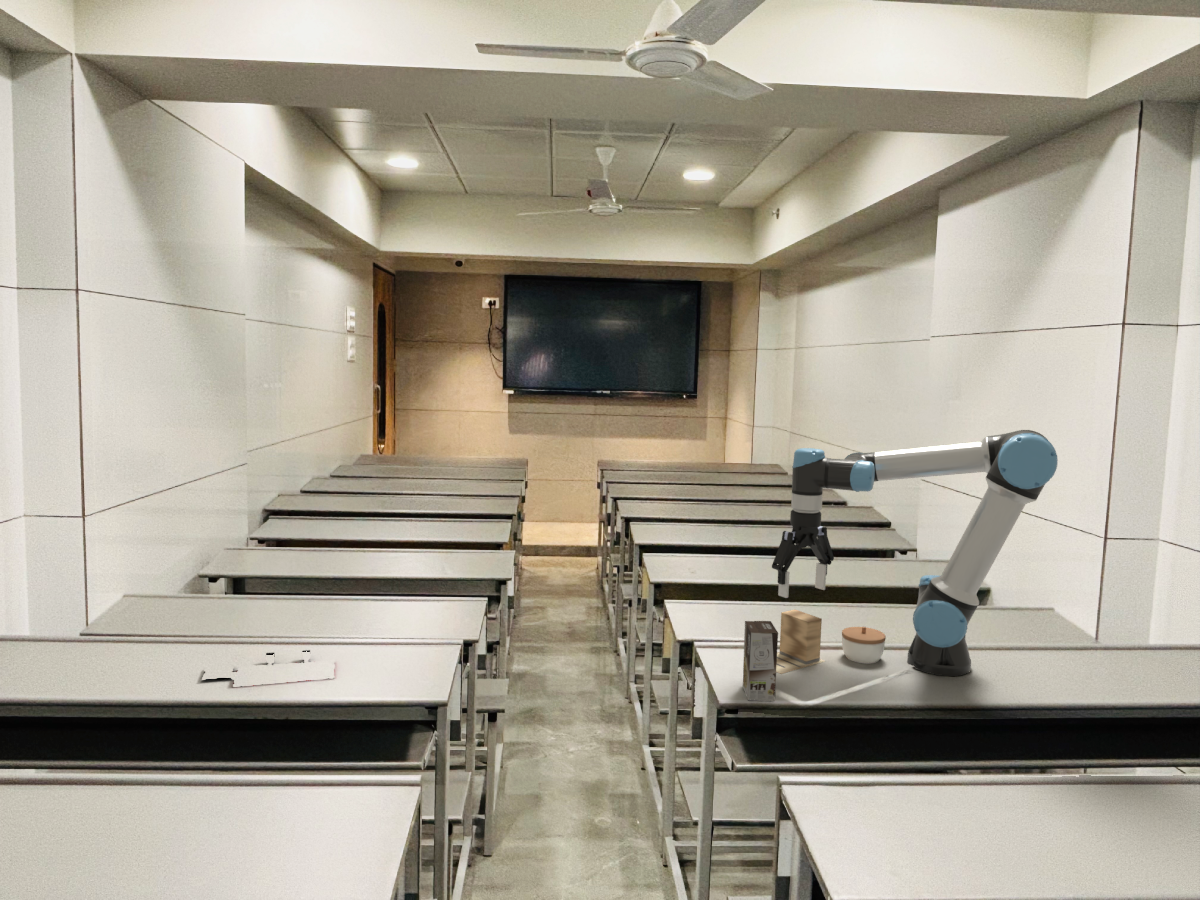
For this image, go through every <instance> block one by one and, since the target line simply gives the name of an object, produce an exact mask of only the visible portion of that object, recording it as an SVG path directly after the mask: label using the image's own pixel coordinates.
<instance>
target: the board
mask: <svg viewBox="0 0 1200 900" xmlns="http://www.w3.org/2000/svg"><path fill="white" fill-rule="evenodd" d="M824 662H826V661H825V660H823V659H821V658H820V661H817V662H813V663H810V664H803V663H801V662H799V661H796V660H794V659H791V658H789V657H786V656H784V655H781V654H780V651H777V664H776V674H777V673H778V674H780V675H782V674H786V673H789V672H793V671H797V670H800V669H803V668H807V667H811V666H813V665H817V664H821V663H824Z"/></svg>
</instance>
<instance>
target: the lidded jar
mask: <svg viewBox="0 0 1200 900" xmlns="http://www.w3.org/2000/svg"><path fill="white" fill-rule="evenodd" d="M886 639H887V637H886V634H885V632H882V631H880V630H878V629H875V628H872V627H866V626H850V627H846V628H844V629H842V630H841V647H842V651H843V653H844V656H845V657H846V658H847V660H849V661H851V662H854V663H859V664H875V663H877V662H879V660H881V658H882V656H883V654H884V651H885V644H886Z"/></svg>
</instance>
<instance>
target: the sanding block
mask: <svg viewBox="0 0 1200 900" xmlns="http://www.w3.org/2000/svg"><path fill="white" fill-rule="evenodd" d="M779 634H780V635H779V636H780V637H779V652H780V654H781V655H784V656H786V657H789V658H791V659H794V660H796V661H799V662H801V663H803V664H810V663H813V662H817V661H820V659H821V643H822V640H821V639H822V618H820V617H818V616H815V615H813V614H809V613H806V612H804V611H801V610H797V609H792V610H791V609H790V610H786V611H783V612H781V614H780V633H779Z"/></svg>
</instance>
